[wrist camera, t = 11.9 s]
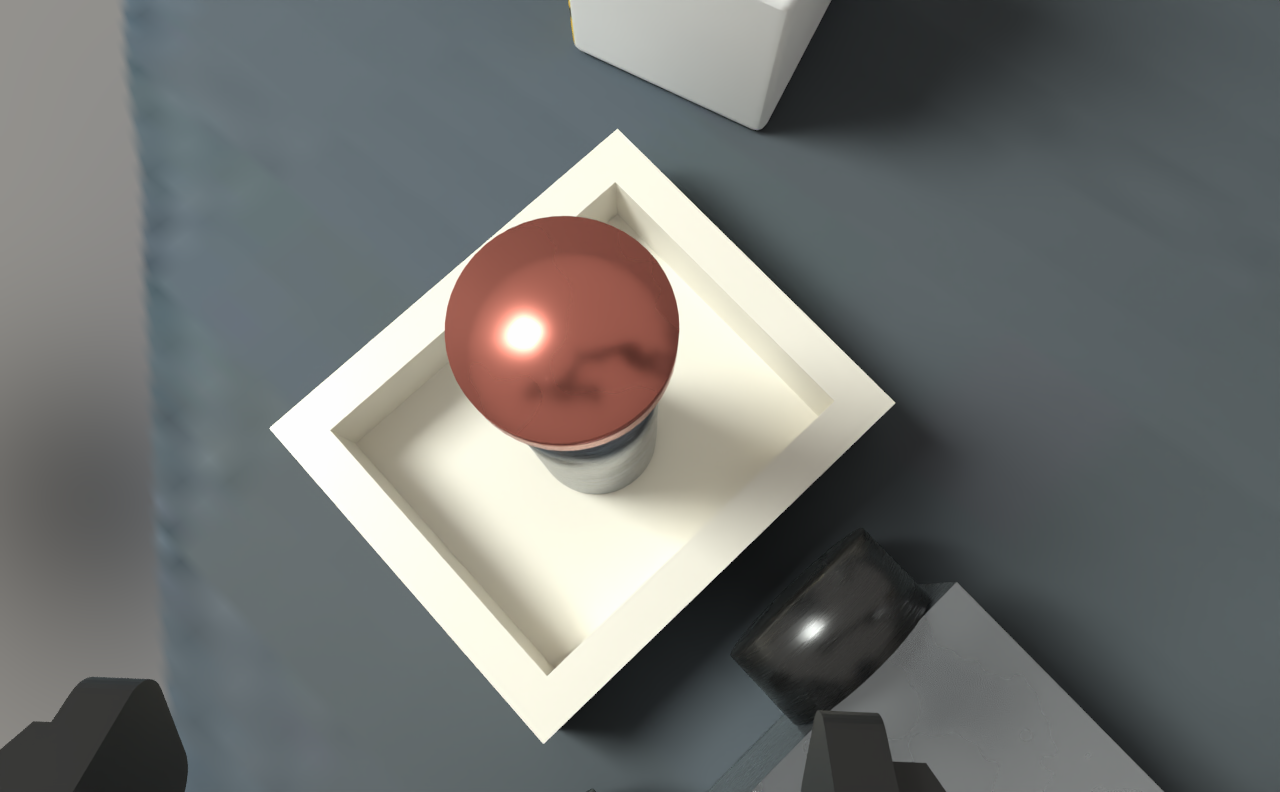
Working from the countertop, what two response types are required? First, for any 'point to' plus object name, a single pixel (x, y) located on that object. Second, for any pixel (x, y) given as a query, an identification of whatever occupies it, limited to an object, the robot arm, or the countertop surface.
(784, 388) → the tray
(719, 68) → the medicine bottle
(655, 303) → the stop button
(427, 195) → the countertop surface
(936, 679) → the trolley
